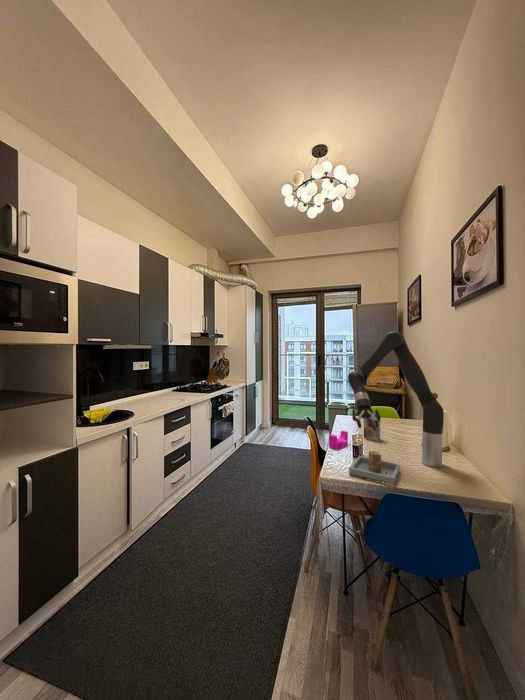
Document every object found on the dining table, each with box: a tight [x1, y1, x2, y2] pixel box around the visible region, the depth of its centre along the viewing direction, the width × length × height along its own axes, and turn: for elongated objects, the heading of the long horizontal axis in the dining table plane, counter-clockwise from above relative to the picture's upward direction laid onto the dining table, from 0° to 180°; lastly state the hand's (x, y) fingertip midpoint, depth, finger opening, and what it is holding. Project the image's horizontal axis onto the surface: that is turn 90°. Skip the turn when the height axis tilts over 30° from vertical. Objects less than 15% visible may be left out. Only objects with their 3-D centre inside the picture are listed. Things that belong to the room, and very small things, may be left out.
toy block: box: [328, 430, 349, 451], centre depth 182 cm, size 15×6×8 cm, turn 132°
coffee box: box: [363, 413, 381, 442], centre depth 196 cm, size 9×6×16 cm
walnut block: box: [368, 450, 382, 473], centre depth 143 cm, size 4×4×9 cm
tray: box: [348, 455, 401, 486], centre depth 143 cm, size 20×18×4 cm
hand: (368, 427), depth 153 cm, fingers open, 8 cm apart
